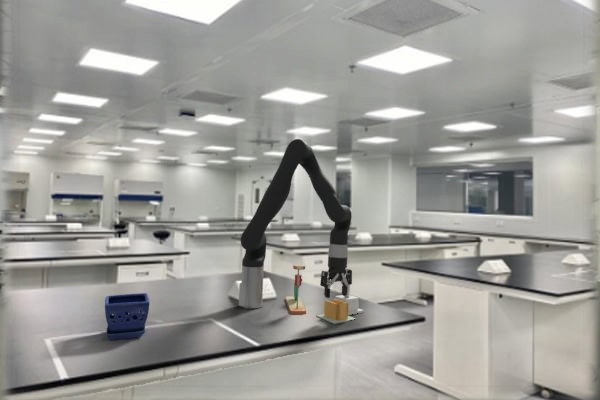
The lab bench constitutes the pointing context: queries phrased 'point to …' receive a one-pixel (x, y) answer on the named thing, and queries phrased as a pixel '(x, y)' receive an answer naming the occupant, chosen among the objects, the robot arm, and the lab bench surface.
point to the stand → (350, 302)
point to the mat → (334, 320)
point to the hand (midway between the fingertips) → (335, 296)
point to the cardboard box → (336, 309)
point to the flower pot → (126, 315)
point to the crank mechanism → (296, 294)
